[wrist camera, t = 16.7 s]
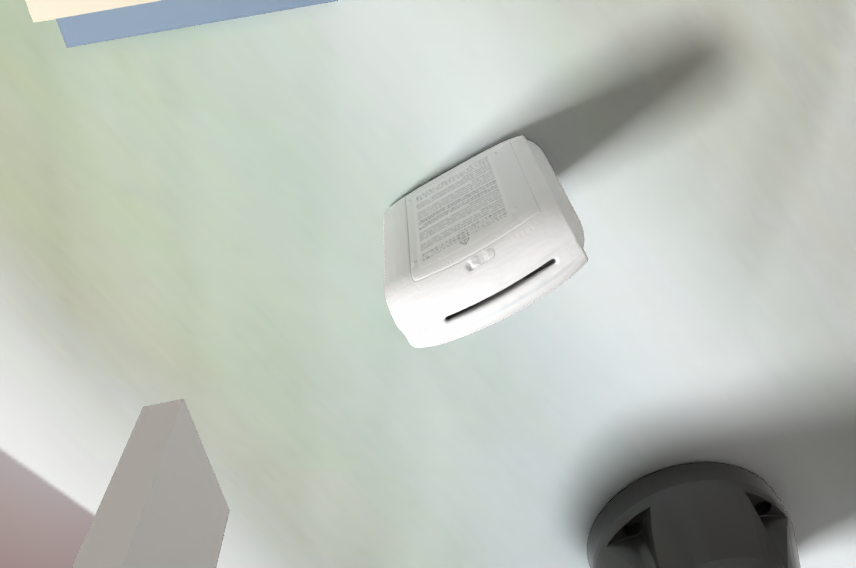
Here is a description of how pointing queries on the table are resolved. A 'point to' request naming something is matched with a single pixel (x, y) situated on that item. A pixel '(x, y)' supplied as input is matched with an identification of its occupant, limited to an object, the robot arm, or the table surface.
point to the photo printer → (479, 244)
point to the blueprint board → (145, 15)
